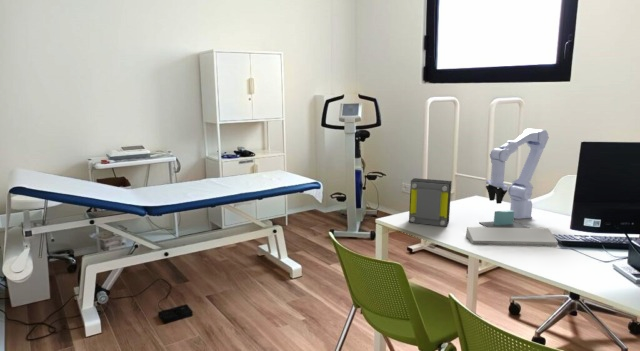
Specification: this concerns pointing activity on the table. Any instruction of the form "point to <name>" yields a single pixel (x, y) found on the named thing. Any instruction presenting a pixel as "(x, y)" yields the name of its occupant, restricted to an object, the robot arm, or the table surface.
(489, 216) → the table surface
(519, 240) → the bevelled gray strip
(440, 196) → the electrical component
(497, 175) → the robot arm
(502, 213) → the card box
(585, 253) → the table surface
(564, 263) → the table surface
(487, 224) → the mat
